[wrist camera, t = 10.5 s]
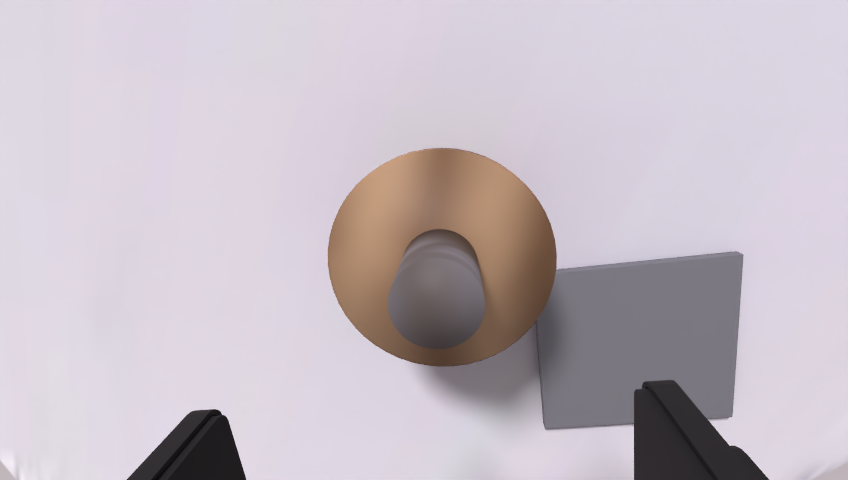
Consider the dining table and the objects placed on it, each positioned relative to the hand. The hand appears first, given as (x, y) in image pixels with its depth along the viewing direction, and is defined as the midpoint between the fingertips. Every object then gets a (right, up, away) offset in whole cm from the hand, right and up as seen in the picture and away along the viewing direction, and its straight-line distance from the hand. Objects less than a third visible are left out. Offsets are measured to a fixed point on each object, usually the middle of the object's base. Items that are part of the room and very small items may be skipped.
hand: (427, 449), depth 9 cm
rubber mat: (+17, -4, +24) cm, 30 cm away
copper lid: (+1, +4, +14) cm, 14 cm away
